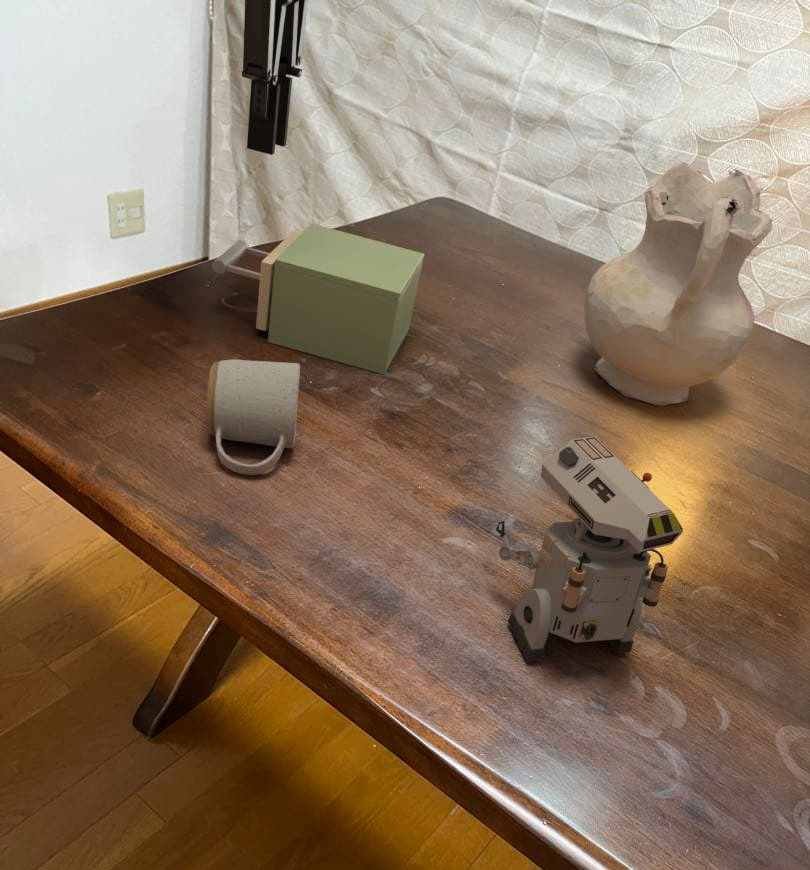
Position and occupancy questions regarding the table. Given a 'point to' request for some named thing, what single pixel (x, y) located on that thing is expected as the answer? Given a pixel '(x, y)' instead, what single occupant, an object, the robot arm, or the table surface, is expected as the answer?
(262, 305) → the drawer
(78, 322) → the table surface
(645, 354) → the ceramic pitcher
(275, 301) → the cabinet
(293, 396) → the ceramic mug
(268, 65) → the robot arm
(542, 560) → the figurine
